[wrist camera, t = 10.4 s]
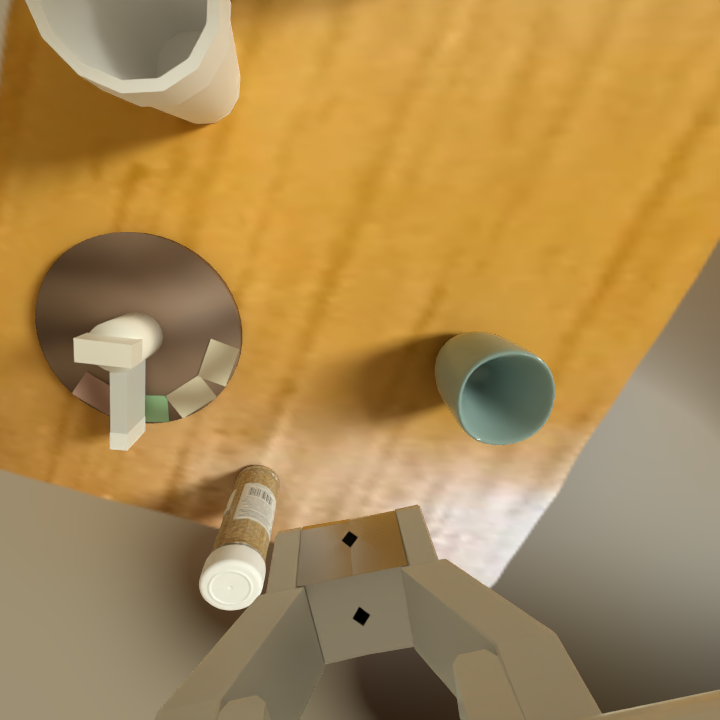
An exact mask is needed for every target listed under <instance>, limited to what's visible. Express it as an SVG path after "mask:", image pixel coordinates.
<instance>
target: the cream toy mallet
mask: <svg viewBox="0 0 720 720" xmlns="http://www.w3.org/2000/svg"><path fill="white" fill-rule="evenodd" d="M73 341H74V362H78V363H87V364H96V365H98V366H99V367H101V368H103V369H105V370H107V371H110V449H114V450H125V451H127V450H128V449H129V448H130V447H131V446H132V445H133V444H134V443H135V442H136V441H137V440H138V438H139V437H140V436H141V435H142V434H143V433H144V432H145V359H147V358H148V357H150V356H151V355H153V354H154V353H155V352H157V351H158V350H159V348H160V347H161V344H162V341H163V334H162V330H161V327H160V326H159V324H158V323H157V321H156V320H155V319H153V318H152V317H151V316H149V315H147V314H145V313H141V312H131V313H127V314H124V315H122V316H119V317H117V318H114V319H112V320H109V321H106V322H104V323H101V324H99V325H97V326H96V327H94V328H93V329H92V330H91V332H90V333H85V334H83V335H80V336H78V337H75V338H73Z"/></svg>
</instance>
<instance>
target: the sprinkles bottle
mask: <svg viewBox="0 0 720 720" xmlns="http://www.w3.org/2000/svg"><path fill="white" fill-rule="evenodd" d="M279 488H280V482H279V479H278V476H277V475H276V474H275V472H274V471H272V470H271V469H269V468H267V467H265V466H261V465H254V466H249V467H247V468H245V469H243V470H242V471H241V472H240V473H239V475H238V476H237V478H236V480H235V486H234V489H233V492H232V494H231V496H230V499H229V501H228V504H227V507H226V510H225V513H224V516H223V521H222V524H221V527H220V530H219V532H218V535H217V538H216V541H215V544H214V547H213V550H212V553H211V554H210V555H209V557H208V558H207V560H206V562H205V565H204V567H203V571H202V573H201V577H200V581H199V587H200V592H201V594H202V596H203V598H204V599H205V600H206V601H207V602H208V603H210V604H211V605H213V606H215V607H217V608H219V609H223V610H238V609H242V608H245V607H247V606H249V605H251V604H252V602H253V601H254V600H255V599H256V598H257V597H258V596H259V595H260V593H261V591H262V587H263V583H264V578H265V572H266V569H265V558H266V554H267V549H268V545H269V542H270V536H271V530H272V525H273V519H274V513H275V508H276V498H277V494H278V492H279Z"/></svg>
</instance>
